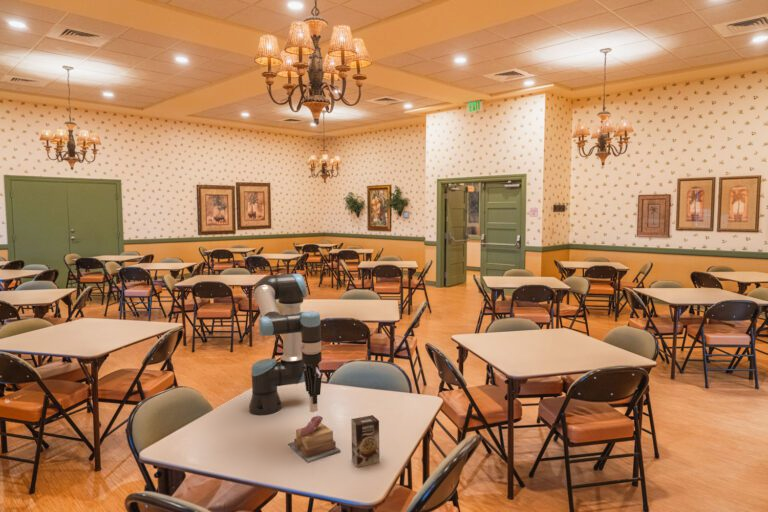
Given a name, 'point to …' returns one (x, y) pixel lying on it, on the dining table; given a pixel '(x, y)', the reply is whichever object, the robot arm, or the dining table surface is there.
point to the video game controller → (312, 425)
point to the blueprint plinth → (315, 444)
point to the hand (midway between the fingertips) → (313, 410)
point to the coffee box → (365, 440)
